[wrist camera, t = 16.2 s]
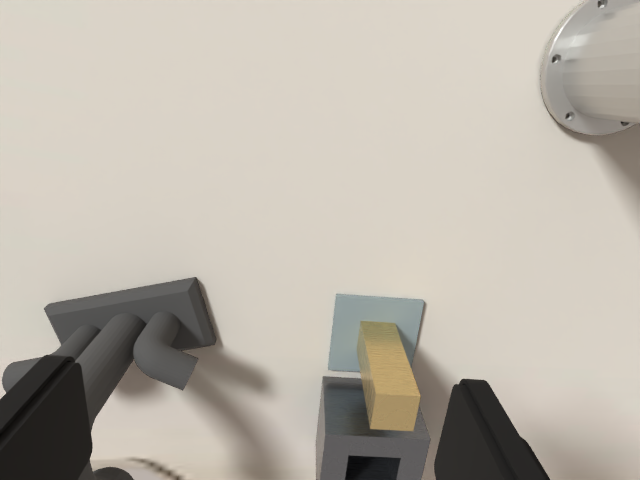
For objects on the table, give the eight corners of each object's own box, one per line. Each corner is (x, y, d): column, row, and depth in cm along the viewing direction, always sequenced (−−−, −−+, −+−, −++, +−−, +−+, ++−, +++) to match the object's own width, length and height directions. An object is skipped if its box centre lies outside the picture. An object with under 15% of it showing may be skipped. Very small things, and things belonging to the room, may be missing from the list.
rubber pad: (422, 299, 47) (424, 302, 47) (408, 371, 51) (409, 374, 50) (336, 294, 47) (336, 296, 46) (328, 366, 50) (328, 369, 50)
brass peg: (394, 322, 47) (420, 396, 36) (389, 351, 49) (413, 431, 38) (360, 320, 47) (375, 393, 36) (356, 349, 49) (370, 429, 37)
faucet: (96, 411, 52) (-25, 595, 33) (44, 304, 46) (-136, 451, 28) (235, 388, 51) (192, 563, 32) (199, 276, 46) (121, 408, 27)
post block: (410, 381, 51) (430, 439, 43) (397, 448, 55) (413, 513, 47) (322, 376, 51) (325, 434, 42) (315, 444, 54) (316, 509, 46)
